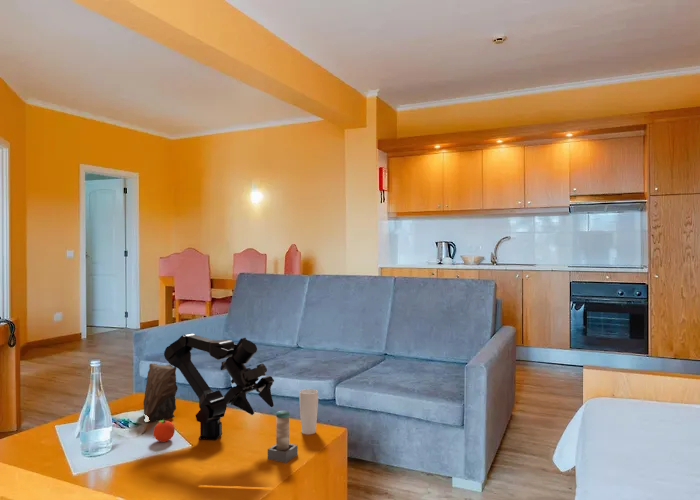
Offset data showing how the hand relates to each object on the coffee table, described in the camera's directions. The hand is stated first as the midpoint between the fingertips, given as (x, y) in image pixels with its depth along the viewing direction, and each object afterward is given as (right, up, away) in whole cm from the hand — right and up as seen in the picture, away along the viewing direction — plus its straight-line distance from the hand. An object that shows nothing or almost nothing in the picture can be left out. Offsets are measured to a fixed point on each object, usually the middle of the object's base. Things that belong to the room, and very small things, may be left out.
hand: (263, 410), depth 165 cm
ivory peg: (+7, -13, -4) cm, 16 cm away
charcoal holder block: (+7, -14, -4) cm, 16 cm away
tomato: (-36, -14, +10) cm, 40 cm away
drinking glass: (+13, -14, +17) cm, 26 cm away
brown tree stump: (-48, -13, +33) cm, 60 cm away
